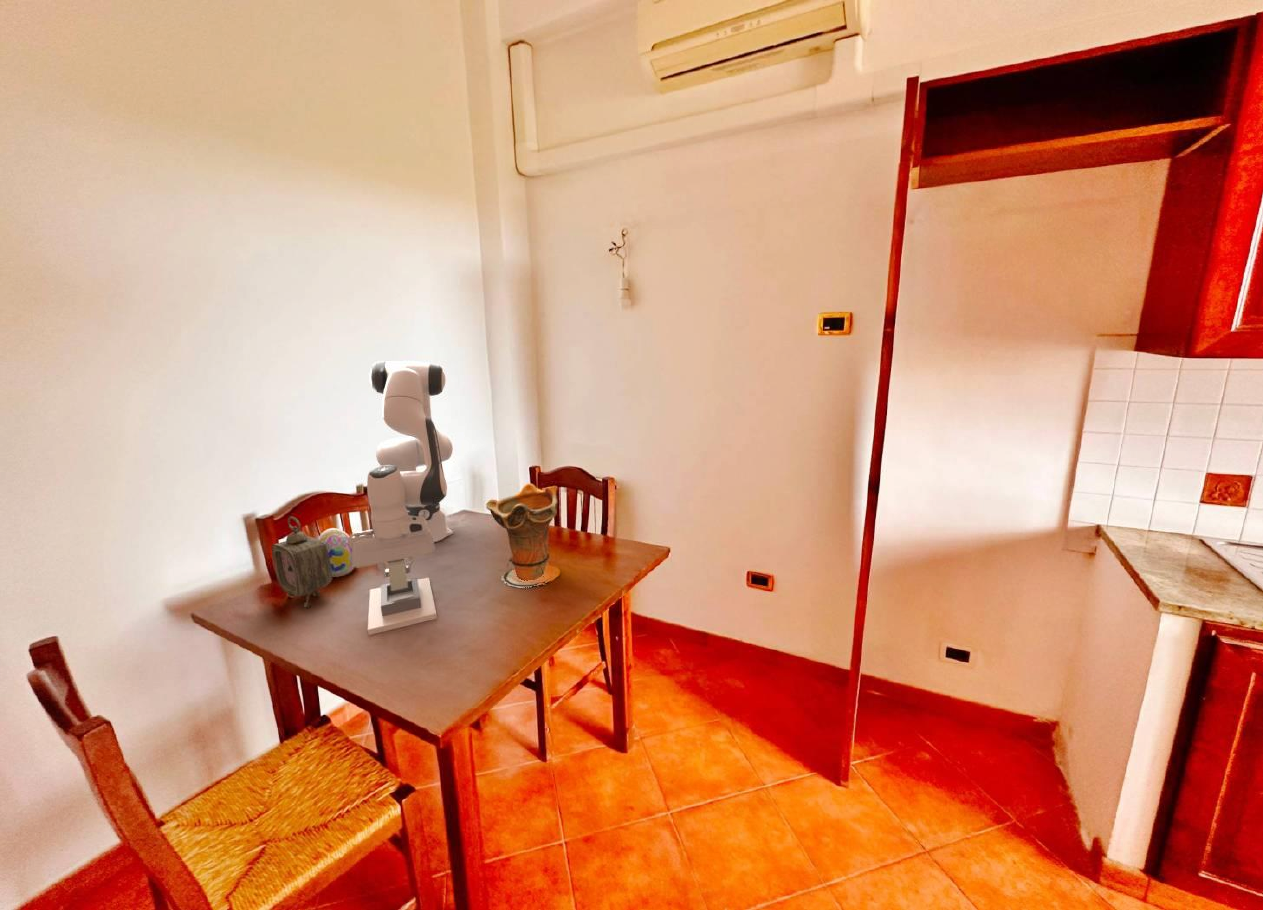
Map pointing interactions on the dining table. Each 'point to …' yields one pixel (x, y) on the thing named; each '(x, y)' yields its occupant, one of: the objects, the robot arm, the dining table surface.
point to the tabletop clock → (301, 564)
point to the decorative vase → (526, 530)
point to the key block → (397, 574)
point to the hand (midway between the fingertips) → (398, 574)
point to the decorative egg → (338, 551)
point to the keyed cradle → (400, 606)
